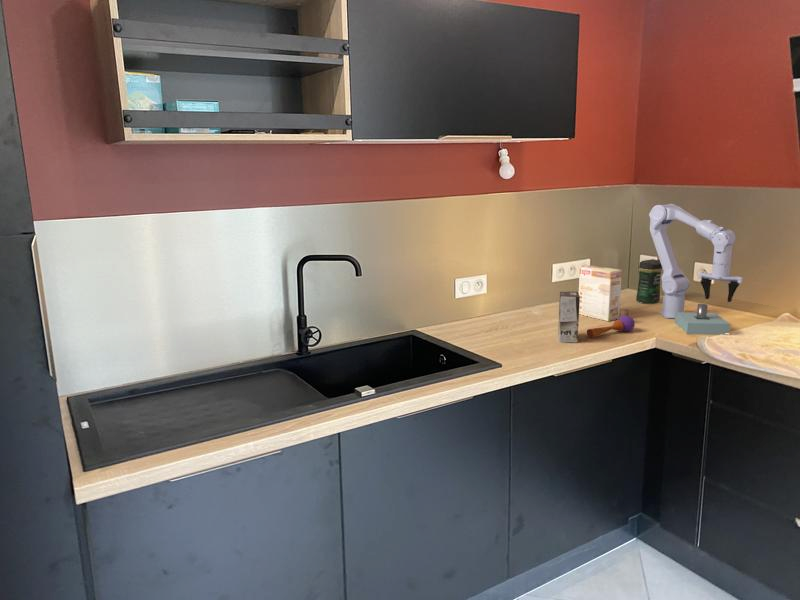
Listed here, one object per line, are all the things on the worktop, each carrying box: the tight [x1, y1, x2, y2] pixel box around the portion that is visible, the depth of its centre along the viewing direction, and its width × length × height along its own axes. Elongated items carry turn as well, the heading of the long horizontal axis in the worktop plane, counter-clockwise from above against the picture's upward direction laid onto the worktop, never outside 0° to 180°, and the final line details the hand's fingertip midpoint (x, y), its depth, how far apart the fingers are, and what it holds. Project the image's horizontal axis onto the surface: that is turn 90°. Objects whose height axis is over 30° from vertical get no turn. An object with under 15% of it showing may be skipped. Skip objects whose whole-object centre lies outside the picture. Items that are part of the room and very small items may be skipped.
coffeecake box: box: [578, 265, 623, 322], centre depth 246 cm, size 15×7×20 cm, turn 34°
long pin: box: [696, 303, 709, 319], centre depth 227 cm, size 3×3×9 cm
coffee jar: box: [635, 258, 663, 304], centre depth 269 cm, size 10×8×19 cm
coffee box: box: [557, 291, 580, 344], centre depth 217 cm, size 9×6×16 cm
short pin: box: [619, 308, 630, 318], centre depth 238 cm, size 3×3×5 cm
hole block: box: [674, 311, 731, 336], centre depth 228 cm, size 16×14×4 cm
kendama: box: [586, 315, 636, 339], centre depth 223 cm, size 6×6×20 cm
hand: (718, 300), depth 231 cm, fingers open, 7 cm apart
